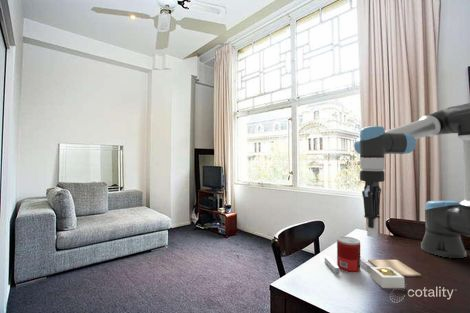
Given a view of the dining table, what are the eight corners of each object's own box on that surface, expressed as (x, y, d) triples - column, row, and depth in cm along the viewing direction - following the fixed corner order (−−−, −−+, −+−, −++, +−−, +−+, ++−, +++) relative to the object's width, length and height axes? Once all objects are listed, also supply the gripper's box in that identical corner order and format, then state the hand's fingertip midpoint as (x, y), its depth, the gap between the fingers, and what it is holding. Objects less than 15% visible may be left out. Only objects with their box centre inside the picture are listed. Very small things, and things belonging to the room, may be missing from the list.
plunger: (388, 276, 80) (388, 267, 80) (396, 282, 76) (396, 273, 76) (377, 276, 80) (377, 267, 80) (384, 282, 76) (384, 273, 76)
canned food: (363, 274, 83) (363, 244, 83) (339, 272, 85) (339, 242, 85) (356, 264, 91) (356, 237, 91) (335, 262, 92) (335, 235, 92)
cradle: (360, 262, 93) (360, 256, 93) (375, 274, 83) (375, 267, 83) (324, 262, 93) (324, 256, 93) (335, 274, 83) (335, 267, 83)
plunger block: (389, 276, 81) (389, 267, 81) (404, 288, 74) (404, 277, 74) (370, 276, 81) (370, 267, 81) (383, 288, 74) (382, 277, 74)
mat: (397, 261, 94) (397, 259, 94) (420, 276, 82) (420, 274, 82) (367, 261, 94) (367, 259, 94) (387, 276, 82) (387, 274, 82)
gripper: (366, 169, 89) (366, 229, 88) (353, 170, 80) (353, 237, 80) (389, 169, 83) (389, 234, 83) (378, 171, 74) (378, 243, 74)
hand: (372, 236), depth 81 cm, fingers closed
